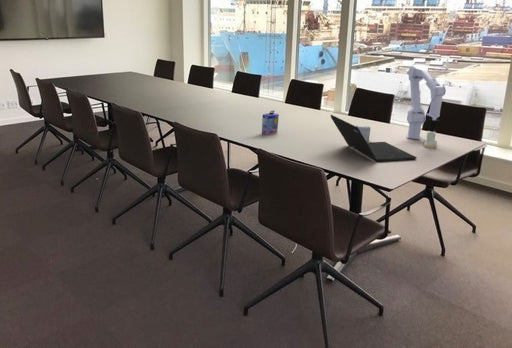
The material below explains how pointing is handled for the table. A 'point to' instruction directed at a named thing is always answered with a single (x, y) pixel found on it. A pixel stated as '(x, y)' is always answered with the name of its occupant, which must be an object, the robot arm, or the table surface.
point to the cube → (431, 136)
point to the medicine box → (365, 131)
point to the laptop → (369, 143)
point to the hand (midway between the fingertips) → (431, 129)
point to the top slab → (430, 142)
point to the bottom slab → (429, 145)
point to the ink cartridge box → (270, 123)
